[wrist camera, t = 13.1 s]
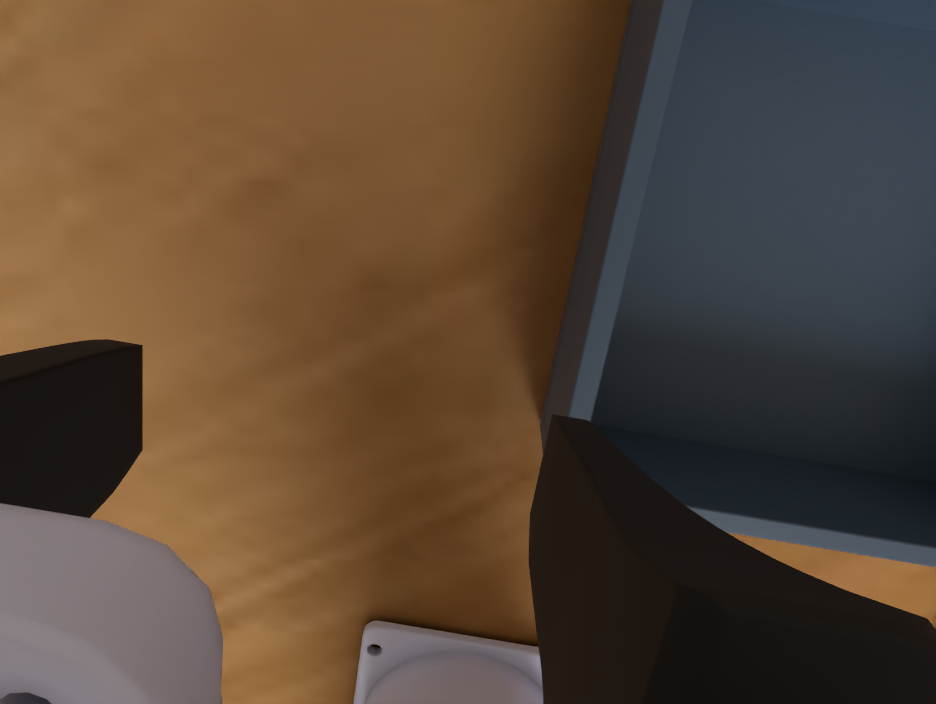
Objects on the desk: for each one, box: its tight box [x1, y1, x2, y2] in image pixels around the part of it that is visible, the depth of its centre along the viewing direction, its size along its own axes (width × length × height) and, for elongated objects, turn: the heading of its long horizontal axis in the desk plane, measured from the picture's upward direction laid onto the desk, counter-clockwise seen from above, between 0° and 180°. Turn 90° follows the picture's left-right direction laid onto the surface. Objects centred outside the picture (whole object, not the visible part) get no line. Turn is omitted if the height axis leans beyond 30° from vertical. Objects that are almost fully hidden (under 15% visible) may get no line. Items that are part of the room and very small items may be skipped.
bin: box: [540, 0, 936, 567], centre depth 18 cm, size 13×13×5 cm
